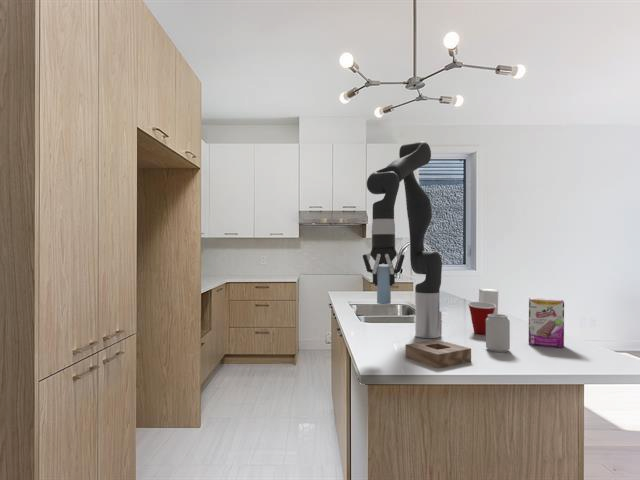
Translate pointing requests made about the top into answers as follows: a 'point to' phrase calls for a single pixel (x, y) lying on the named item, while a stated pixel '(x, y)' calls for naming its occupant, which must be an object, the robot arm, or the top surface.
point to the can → (497, 333)
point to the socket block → (438, 353)
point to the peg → (383, 285)
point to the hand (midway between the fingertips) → (383, 285)
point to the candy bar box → (546, 322)
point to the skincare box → (489, 297)
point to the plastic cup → (480, 315)
